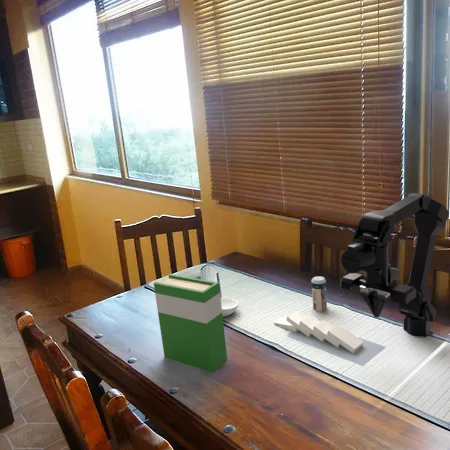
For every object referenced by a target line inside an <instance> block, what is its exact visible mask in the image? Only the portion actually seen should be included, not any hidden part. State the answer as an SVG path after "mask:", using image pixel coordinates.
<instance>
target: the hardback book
mask: <svg viewBox="0 0 450 450" xmlns="http://www.w3.org/2000/svg"><path fill="white" fill-rule="evenodd" d="M153 287H154V288H153V289H154V295H155V301H156V303H155V304H156V309H157V315H158V322H159V328H160V329H159V330H160V335H161V344H162V349H163V356H164V359H167V360H169V361H174V362H177V363H180V364H183V365H187V366H191V367H193V368H196V369H199V370H203V371H206V372H208V373H211V374H212V373H214V372H215V371H216V370H217V369H218V368H219V367H220V366H222V365H223V364H224V363H225V362H226V361H227V360H228V355H227V354H228V353H227V346H226V344H227V343H226V335H225V334H226V333H225V328H224V326H225V324H224V317H223V315H222V306H221V298H222V297H221V290H220V288H221V287H220V282H218V281H213V280H208V279H207V280H206V279H200V278H195V277H189V276H183V275H179V274H178V275H177V274H172V273H169V275H168V278H166V279H165V280H163V281H162V282H157V281H155V282H154V283H153Z"/></svg>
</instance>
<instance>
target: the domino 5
mask: <svg viewBox="0 0 450 450" xmlns="http://www.w3.org/2000/svg"><path fill="white" fill-rule="evenodd" d="M333 326H334V327H333V328H331V329H330V330H328V333H327V335H328V336H329V337H330V338H332V339H333V340H335V341H336V342H338V343H339V344H340V345H342V346H343V347H345V348H346V349H348V350H349V351H350V352H352V353H354V352H355V351H357V350H358V349H359V348H360V347H362V346H363V343H364V341H362V340H361V339H359V338H360V337H359V336H357V335H355V334H354V333H352V332H351V331H349V330H348V329H346V328H344V326H341V325H340V324H339V323H338V324H336V325H333ZM358 337H359V338H358Z"/></svg>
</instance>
